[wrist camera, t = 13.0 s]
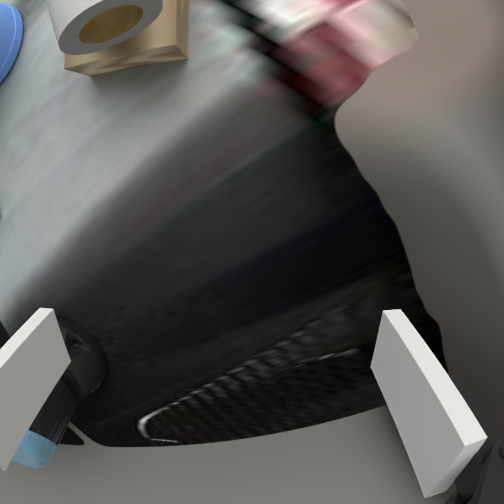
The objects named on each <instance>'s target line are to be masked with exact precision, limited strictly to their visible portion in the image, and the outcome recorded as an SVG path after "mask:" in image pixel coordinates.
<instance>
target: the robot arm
mask: <svg viewBox="0 0 504 504" xmlns="http://www.w3.org/2000/svg"><path fill="white" fill-rule="evenodd" d="M370 367H371V369H372V371H373V373H374V375H375V378H376V380H377V382H378V384H379V387H380V389H381V391H382V393H383V396H384V398H385V400H386V403H387V405H388V407H389V410H390V412H391V414H392V417H393V419H394V421H395V423H396V426H397V428H398V431H399V433H400V436H401V438H402V441H403V443H404V446H405V448H406V450H407V453H408V455H409V458H410V461H411V463H412V466H413V468H414V471H415V473H416V476H417V479H418V481H419V484H420V487H421V489H422V492H423V494H424V497H425V498H426V497H429V496H433V495H436V494H439V493H441V492H444V491H446V490H447V489H448V488H449V487H450V485H451V484H452V483H453V482H455V484H456V486H457V490H456V491H455V492H454V493H453V494H452V495H451V496H450V497H449V498H448V499H447V500H446V502H445V503H444V504H449V503H450V504H504V434H503V433H502V432H501V430H500V429H499V427H498V425H497V424H496V423H495V421H494V419H493V418H492V416H491V415H490V413H489V412H488V410H487V409H486V407H485V406H484V404H482V401H481V400H480V399H479V397H478V395H477V396H476V392H475V391H474V390H473V388H472V387H471V385H470V384H469V383H468V382H467V381H466V380H464V379H463V378H462V377H460V376H459V375H452V376H448V375H447V373H446V372H445V370H444V369H443V367H442V366H441V364H440V363H439V362H438V360H437V359H436V357H435V356H434V354H433V353H432V352H431V350H430V349H429V347H428V346H427V345H426V343H425V342H424V340H423V339H422V338H421V336H420V335H419V333H418V332H417V331H416V329H415V328H414V327H413V325H412V324H411V323H410V321H409V320H408V319H407V317H406V316H405V315H404V313H403V312H402V311H401V309H398V310H384V311H383V313H382V318H381V323H380V328H379V332H378V337H377V341H376V346H375V350H374V354H373V358H372V362H371V366H370ZM106 372H107V363H106V359H105V356H104V353H103V351H102V349H101V348H100V346H99V344H98V343H97V342H96V340H95V339H94V338H93V337H92V336H91V335H90V334H89V333H88V332H87V331H86V330H85V329H84V328H82V327H81V326H79V325H78V324H76V323H75V322H73V321H71V320H69V319H66V318H63V317H59V316H55V312H54V309H49V308H39V309H38V310H37V311H36V312H35V313H34V314H33V315H32V316H31V317H30V318H29V319H28V320H27V321H26V322H25V323H24V325H23V326H22V327H21V328H20V329H19V330H18V331H17V332H16V333H15V334H14V335H13V336H12V337H10V336H9V334H8V333H7V331H6V330H5V328H4V326H3V325H2V323H1V321H0V469H1V470H3V471H6V469H7V467H8V465H9V463H10V461H11V460H13V461H15V462H17V463H19V464H22V465H25V466H28V467H33V468H40V467H43V466H45V465H46V464H47V463H48V462H49V460H50V459H51V457H52V455H53V454H54V452H55V451H56V450H57V448H58V444H59V442H60V440H61V438H62V436H63V434H64V432H65V430H66V428H67V425H68V423H69V421H70V419H71V418H72V416H73V414H74V412H75V410H76V408H77V406H78V404H79V403H80V402H81V401H82V400H83V399H84V398H86V397H87V396H88V394H89V393H91V392H93V391H95V390H96V389H97V388H98V387H99V386H100V385H101V383H102V381H103V379H104V377H105V375H106Z"/></svg>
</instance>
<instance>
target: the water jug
mask: <svg viewBox="0 0 504 504" xmlns="http://www.w3.org/2000/svg"><path fill="white" fill-rule="evenodd" d="M22 35H23V22H22V17H21V15H20V13H19V11H18V10H17V9H16V8H15V7H13V6H10V5H8V4H4V3H0V83H1V82H2V80H3V79H4V78H5V76H6V75H7V74H8V72H9V70H10V69H11V67H12V65H13V63H14V61H15V59H16V57H17V54H18V51H19V48H20V45H21V41H22Z"/></svg>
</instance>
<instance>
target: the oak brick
mask: <svg viewBox="0 0 504 504" xmlns="http://www.w3.org/2000/svg"><path fill="white" fill-rule="evenodd" d="M162 1H163V8H162V11H161V13H160V14H159V16H158V17H157V18H156V19H155V21H153V22H152V23H151V24H150V25H149V26H148V27H146V28H145V29H144V30H142V31H141V32H139V33H138V34H136V35H135V36H133V37H131V38H129V39H127V40H125V41H123V42H121V43H119V44H117V45H115V46H112V47H110V48H107V49H104V50H101V51H98V52H94V53H90V54H84V55H70V54H66V53H65V68H64V69H66V70H70V71H74V72H77V73H81V74H84V75H88V76H93V75H97V74H102V73H106V72H111V71H115V70H120V69H125V68H130V67H136V66H141V65H147V64H153V63H160V62H167V61H174V60H182V59H188V0H162Z"/></svg>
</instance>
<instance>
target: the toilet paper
mask: <svg viewBox="0 0 504 504" xmlns="http://www.w3.org/2000/svg"><path fill="white" fill-rule="evenodd" d="M46 2H47V6H48V10H49V14H50V17H51V21H52V24H53V28H54V31H55V35H56V38H57V41H58V45H59V48H60V49H61V51H62V52H64V53H66V54H70V55H84V54H90V53H94V52H98V51H101V50H104V49H107V48H110V47H112V46H115V45H117V44H119V43H121V42H123V41H125V40H127V39H129V38H131V37H133V36H135V35H136V34H138V33H139V32H141V31H142V30H144V29H145V28H146V27H148V26H149V25H150V24H151V23H152V22H153V21H155V19H156V18H157V17H158V16H159V14H160V13H161V11H162V8H163V1H162V0H46Z"/></svg>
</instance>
